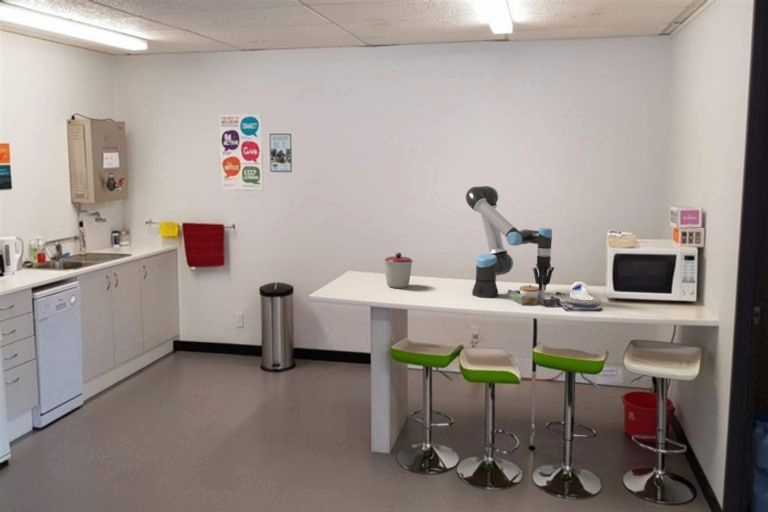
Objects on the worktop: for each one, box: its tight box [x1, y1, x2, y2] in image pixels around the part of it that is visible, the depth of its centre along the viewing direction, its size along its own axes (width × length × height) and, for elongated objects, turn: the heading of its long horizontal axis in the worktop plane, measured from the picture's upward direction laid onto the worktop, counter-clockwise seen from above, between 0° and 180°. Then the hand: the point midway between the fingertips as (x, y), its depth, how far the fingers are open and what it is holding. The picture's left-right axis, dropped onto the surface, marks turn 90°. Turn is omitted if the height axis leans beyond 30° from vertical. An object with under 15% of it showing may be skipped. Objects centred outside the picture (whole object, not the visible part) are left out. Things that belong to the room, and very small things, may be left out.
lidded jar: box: [519, 284, 539, 297], centre depth 381 cm, size 11×11×9 cm
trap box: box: [507, 289, 561, 307], centre depth 382 cm, size 20×29×5 cm
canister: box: [383, 252, 414, 289], centre depth 412 cm, size 18×18×21 cm
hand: (541, 296), depth 384 cm, fingers closed
